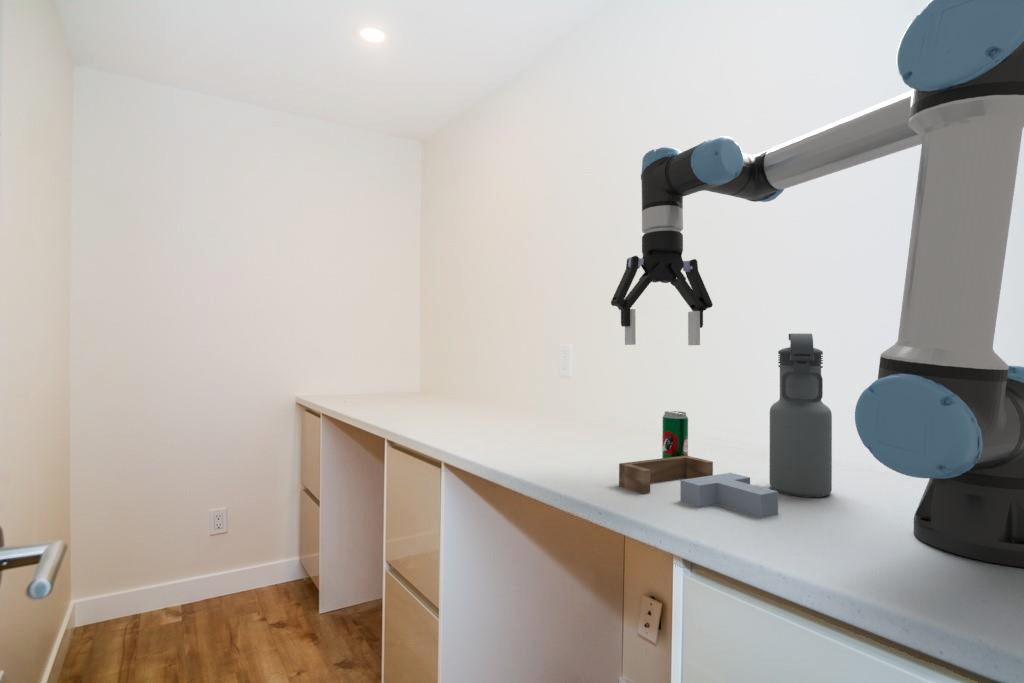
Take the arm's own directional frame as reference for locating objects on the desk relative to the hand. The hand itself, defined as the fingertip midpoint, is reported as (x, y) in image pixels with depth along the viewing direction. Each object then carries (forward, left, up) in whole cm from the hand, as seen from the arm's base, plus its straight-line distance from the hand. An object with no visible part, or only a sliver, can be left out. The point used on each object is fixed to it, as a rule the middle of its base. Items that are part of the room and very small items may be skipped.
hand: (662, 345), depth 102 cm
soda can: (+6, -9, -26) cm, 28 cm away
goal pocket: (-2, +1, -26) cm, 26 cm away
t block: (-17, +1, -26) cm, 31 cm away
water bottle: (-16, -17, -26) cm, 35 cm away
